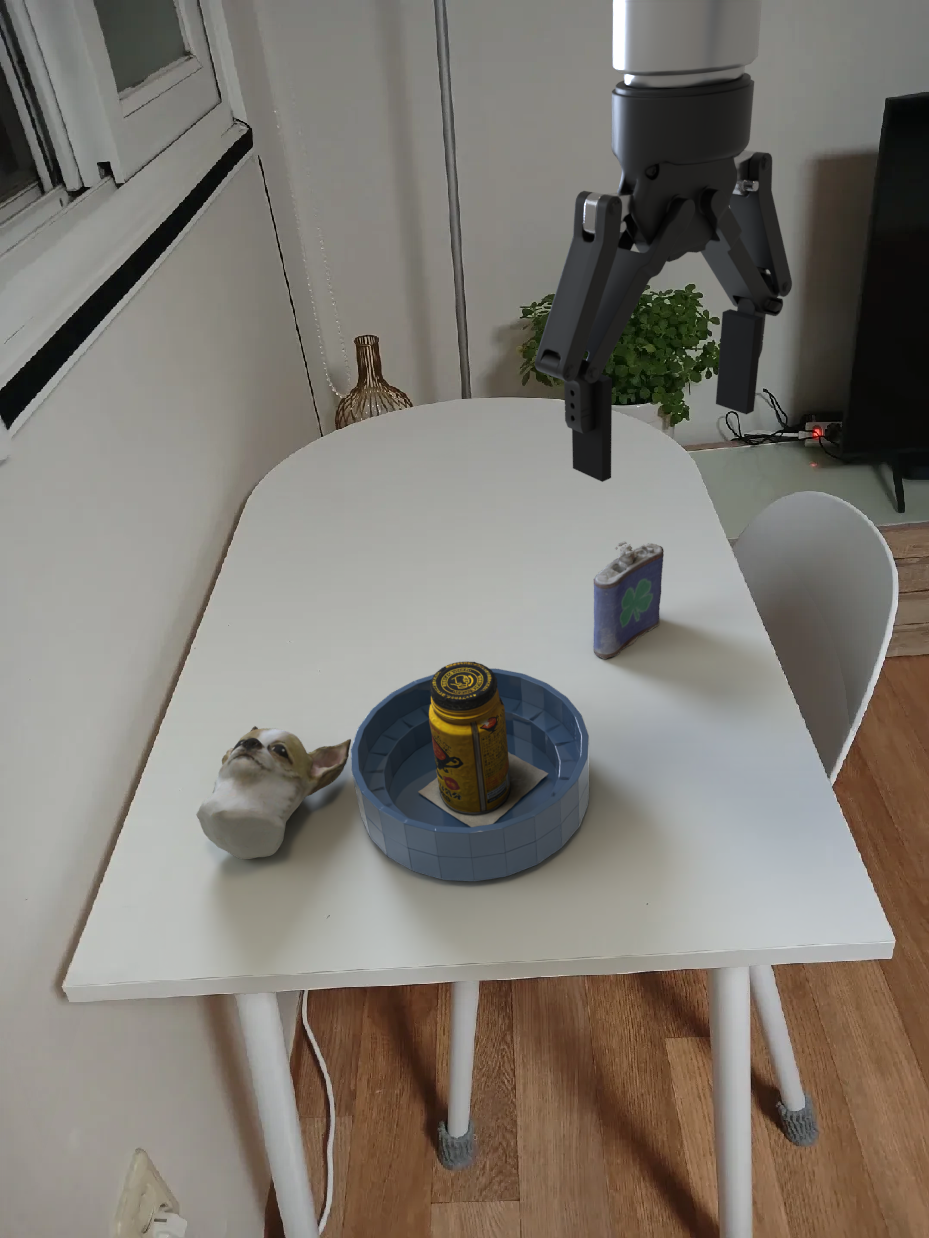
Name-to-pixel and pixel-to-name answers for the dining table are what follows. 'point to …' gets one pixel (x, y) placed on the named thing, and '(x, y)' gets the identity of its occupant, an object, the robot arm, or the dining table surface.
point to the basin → (405, 763)
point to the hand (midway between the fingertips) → (666, 439)
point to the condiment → (473, 747)
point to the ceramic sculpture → (265, 789)
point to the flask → (627, 598)
